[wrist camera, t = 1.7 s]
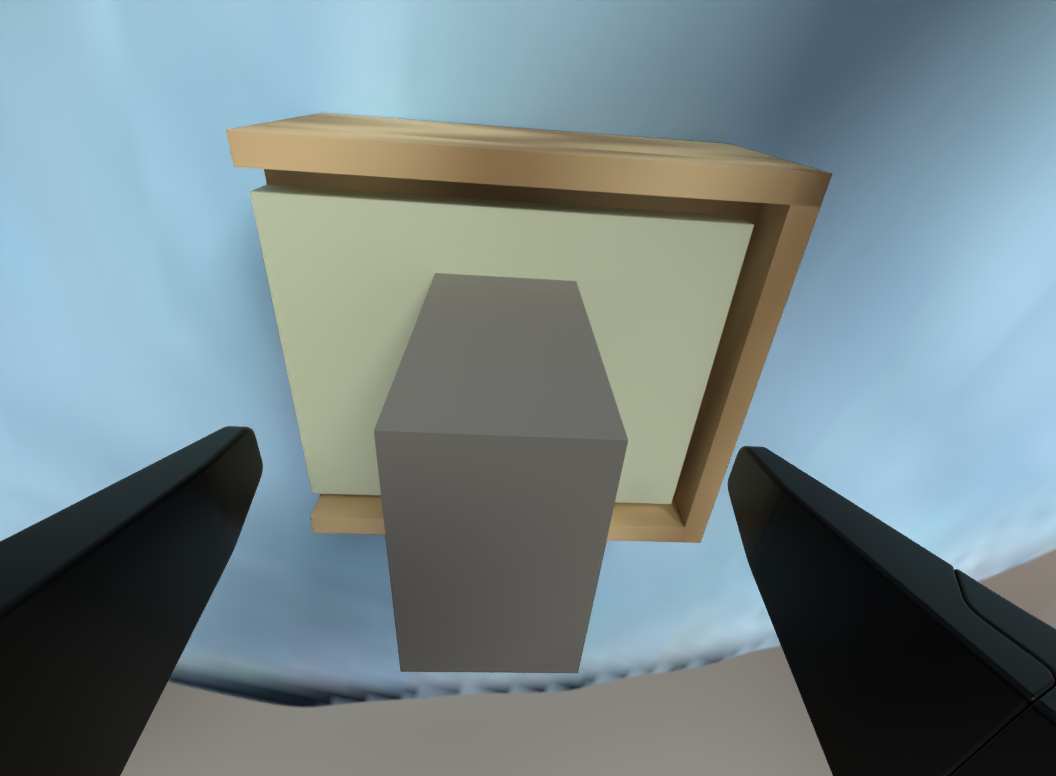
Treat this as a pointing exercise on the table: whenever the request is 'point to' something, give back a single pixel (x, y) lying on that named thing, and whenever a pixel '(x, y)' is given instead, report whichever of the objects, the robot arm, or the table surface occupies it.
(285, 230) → the cover plate
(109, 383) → the table surface
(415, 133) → the oak box
